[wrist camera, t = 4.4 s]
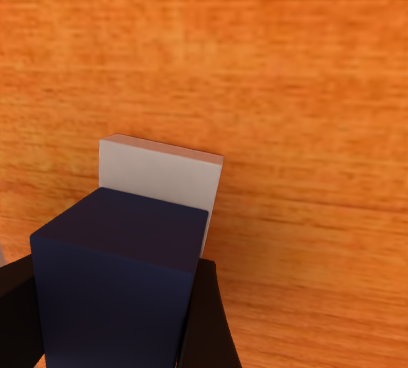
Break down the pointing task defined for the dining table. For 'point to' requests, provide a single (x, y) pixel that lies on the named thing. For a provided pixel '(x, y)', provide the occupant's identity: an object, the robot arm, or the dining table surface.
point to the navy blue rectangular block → (125, 257)
